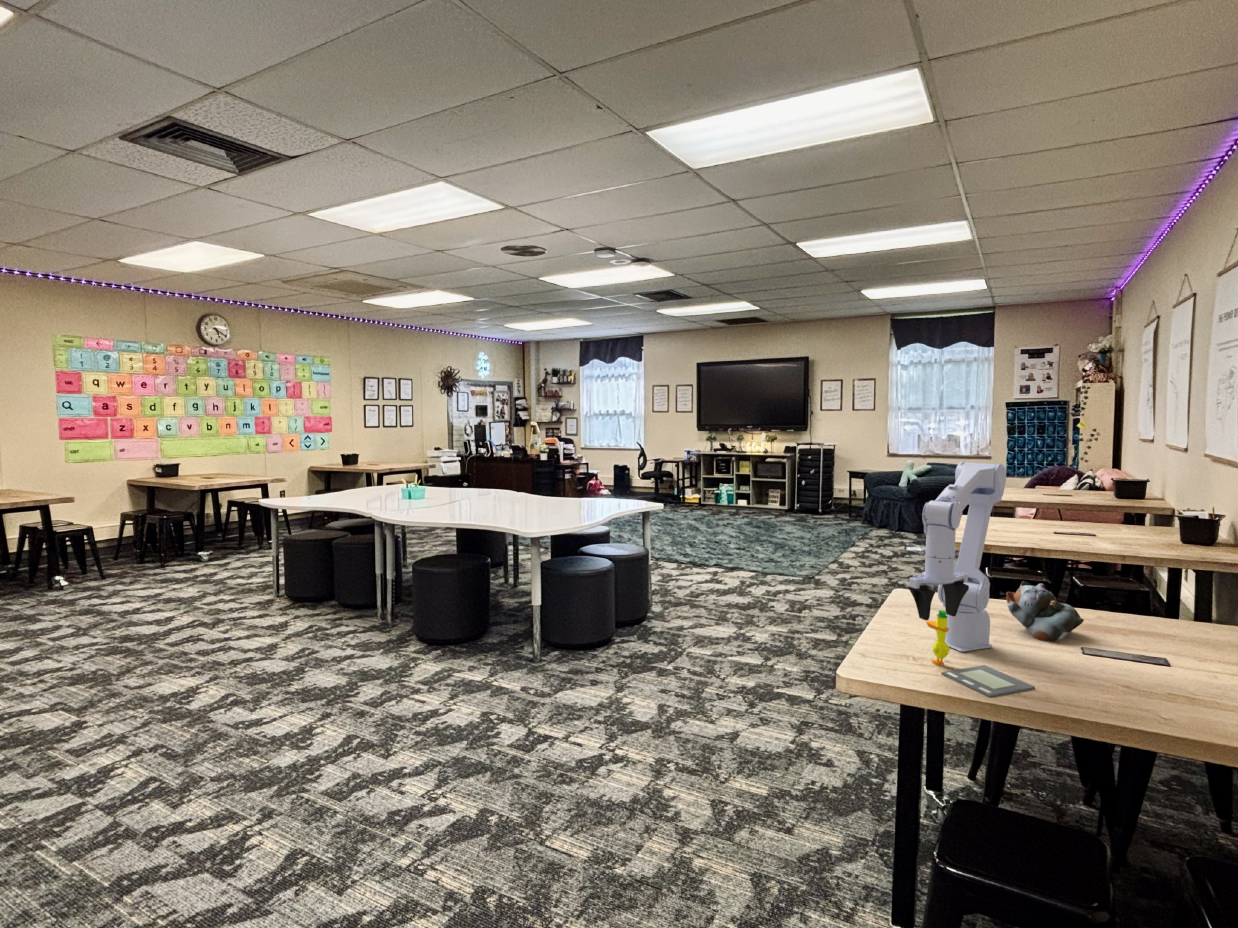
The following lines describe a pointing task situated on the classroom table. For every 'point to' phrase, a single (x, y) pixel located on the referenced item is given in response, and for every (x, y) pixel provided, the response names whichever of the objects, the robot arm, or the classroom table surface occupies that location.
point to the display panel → (987, 680)
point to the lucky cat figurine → (1042, 612)
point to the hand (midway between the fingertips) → (937, 617)
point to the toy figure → (940, 637)
